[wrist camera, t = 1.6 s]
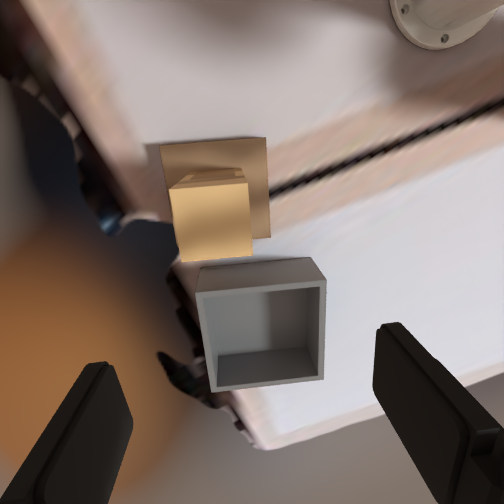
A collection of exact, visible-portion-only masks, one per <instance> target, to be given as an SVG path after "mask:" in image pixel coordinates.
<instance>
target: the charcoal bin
mask: <svg viewBox="0 0 504 504" xmlns="http://www.w3.org/2000/svg"><path fill="white" fill-rule="evenodd" d="M326 284H327V280H326V278H325V277H324V275H323V274H322V273H321V271H320V270H319V268H318V267H317V265H316V264H315V263H314V261H313V260H312V258H311V257H309V258H299V259H288V260H278V261H267V262H257V263H246V264H236V265H226V266H215V267H205V268H201V269H200V273H199V277H198V282H197V286H196V290H195V296H196V302H197V308H198V314H199V320H200V326H201V332H202V338H203V344H204V350H205V356H206V362H207V368H208V374H209V380H210V386H211V392H219V391H228V390H237V389H246V388H254V387H263V386H272V385H280V384H289V383H298V382H306V381H315V380H324V351H325V318H326Z"/></svg>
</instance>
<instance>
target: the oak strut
mask: <svg viewBox="0 0 504 504" xmlns="http://www.w3.org/2000/svg"><path fill="white" fill-rule="evenodd" d="M169 194H170V199H171V205H172V211H173V216H174V222H175V227H176V233H177V239H178V244H179V250H180V255H181V261H182V262H188V261H199V260H209V259H220V258H231V257H241V256H252V255H253V246H252V233H251V220H250V206H249V193H248V183H247V180H246V178H245V176H244V174H243V171H242V169H241V168H234V169H222V170H209V171H197V172H190V173H189V174H188V175H187V176H185V177H184V178H183V179H182V180H180V181H179V182H178V183H177V184H175V185H174V186H173V187H171V188H170V189H169Z"/></svg>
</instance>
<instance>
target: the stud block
mask: <svg viewBox="0 0 504 504" xmlns="http://www.w3.org/2000/svg"><path fill="white" fill-rule="evenodd" d="M159 148H160V153H161V159H162V165H163V170H164V176H165V181H166V187H167V192H168V198H169V203H170V209H171V214H172V220H173V225H174V231H175V236H176V242H177V246H179V244H178V239H177V233H176V227H175V222H174V216H173V211H172V205H171V199H170V194H169V189H170V188H171V187H173V186H174V185H175V184H177V183H178V182H179V181H180V180H182V179H183V178H184V177H185V176H187V175H188V174H189V173H190V172H197V171H209V170H222V169H234V168H241V169H242V171H243V174H244V176H245V178H246V180H247V183H248V193H249V206H250V220H251V233H252V239H260V238H271V230H270V210H269V190H268V169H267V149H266V137H264V138H251V139H238V140H225V141H212V142H199V143H185V144H172V145H159Z"/></svg>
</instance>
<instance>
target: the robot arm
mask: <svg viewBox="0 0 504 504" xmlns="http://www.w3.org/2000/svg"><path fill="white" fill-rule="evenodd" d="M502 5H504V0H390V6H391V10H392V15H393V17H394V19H395V22H396V24H397V26H398V28H399V29H400V31H401V32H402V34H403V35H404V36H405V37H406V38H407V39H408V40H409V41H410V42H412V43H413V44H415V45H417V46H419V47H421V48H425V49H429V50H441V49H445V48H450V47H453V46H455V45H457V44H460V43H462V42H464V41H466V40H467V39H469V38H471V37H472V36H474V35H475V34H476V33H477V32H478V31H480V30H481V29H482V28H483V27H484V26H485V25H486V24H487V23H488V21H489V20H490V19H491V18H492V17H493V15H494V14H495V12H496V11H497V10H498V8H499V7H500V6H502ZM401 11H402V12H401ZM372 386H373V391H374V394H375V396H376V398H377V400H378V401H379V403H380V405H381V406H382V408H383V410H384V412H385V413H386V415H387V417H388V419H389V420H390V422H391V424H392V426H393V427H394V429H395V431H396V432H397V434H398V436H399V437H400V439H401V441H402V443H403V445H404V446H405V448H406V450H407V451H408V453H409V455H410V457H411V458H412V460H413V462H414V464H415V465H416V467H417V469H418V471H419V472H420V474H421V476H422V478H423V479H424V481H425V483H426V484H427V486H428V488H429V490H430V491H431V493H432V495H433V496H434V498H435V500H436V501H437V502H438V504H504V428H503V427H502V426H501V425H500V424H499V423H498V422H497V421H496V420H495V419H494V418H493V417H492V416H491V415H490V414H489V413H488V412H487V411H486V410H485V409H484V407H482V405H480V403H479V402H478V401H477V400H476V399H475V398H474V397H473V396H472V395H471V394H470V393H469V392H468V391H467V390H466V389H465V388H464V387H463V386H462V385H461V383H460V382H459V381H458V380H457V379H456V378H455V377H454V376H453V375H452V374H451V373H450V372H449V371H448V370H447V369H446V368H445V367H444V366H443V365H442V364H441V363H440V362H439V361H438V360H437V359H435V358H434V357H433V356H432V355H431V354H430V353H429V352H428V351H427V350H426V349H425V348H424V347H423V346H422V345H421V344H420V343H419V342H418V341H417V340H416V339H415V337H414V336H413V335H412V334H411V333H410V332H409V331H408V330H407V329H406V328H405V327H404V326H403V325H402V324H401V323H400V322H394V323H386V324H382V325H381V327H380V329H377V331H376V343H375V357H374V370H373V384H372ZM132 430H133V418H132V416H131V413H130V410H129V407H128V404H127V402H126V399H125V396H124V393H123V391H122V388H121V385H120V383H119V380H118V377H117V374H116V372H115V369H114V367H113V366H112V365H109V364H108V362H106V361H104V362H96V363H89V364H87V365H86V366H85V367H84V369H83V371H82V372H81V374H80V375H79V377H78V378H77V380H76V382H75V383H74V384H73V386H72V388H71V389H70V391H69V392H68V394H67V396H66V397H65V399H64V400H63V402H62V403H61V405H60V406H59V408H58V410H57V411H56V413H55V414H54V416H53V417H52V419H51V420H50V422H49V423H48V425H47V427H46V428H45V430H44V431H43V433H42V434H41V436H40V438H39V439H38V441H37V442H36V444H35V445H34V447H33V448H32V450H31V452H30V453H29V455H28V456H27V458H26V460H25V461H24V462H23V464H22V465H21V467H20V469H19V470H18V472H17V473H16V475H15V476H14V478H13V480H12V481H11V483H10V484H9V486H8V487H7V489H6V490H5V492H4V494H3V495H2V497H1V498H0V504H108V502H109V499H110V496H111V493H112V490H113V487H114V484H115V481H116V478H117V475H118V472H119V469H120V466H121V462H122V460H123V457H124V454H125V451H126V448H127V445H128V442H129V439H130V436H131V433H132Z"/></svg>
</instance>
